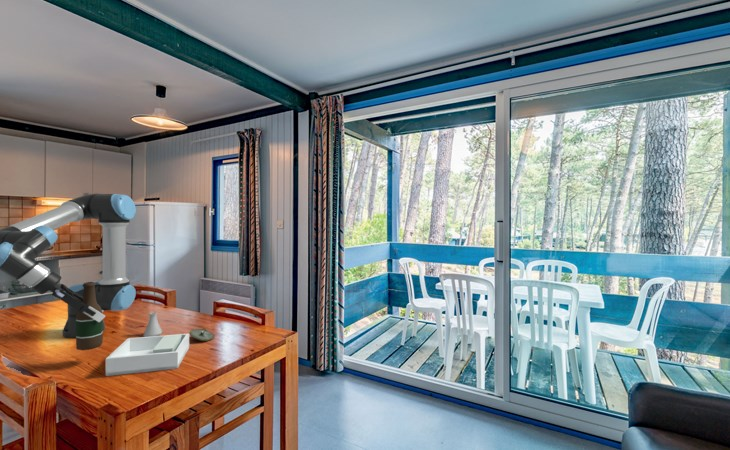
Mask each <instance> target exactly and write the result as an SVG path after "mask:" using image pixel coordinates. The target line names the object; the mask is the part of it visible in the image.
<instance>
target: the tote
mask: <svg viewBox="0 0 730 450" xmlns="http://www.w3.org/2000/svg"><path fill="white" fill-rule="evenodd" d="M173 335H174V334H167V335H157V336H151V337H146V336H140V337H128V338H127V339H125V340H124V341H123V342H122V343H121V344H120V345H118V346H117V348H116V349H115V350H113V351H112V352H111V353H110V354H109V355H108V356H107V357H106V358H105V377H110V376H120V375H121V376H122V375H129V374H139V373H141V374H142V373H149V372H156V371H157V372H158V371H168V370H177V369H178V368H179V367H180V366H181V364H182V362H183V360H184V358H185V356H186V354H187V352H188V351H189V349H190V333H177V334H176V333H175V335H182V337H181V343H180V345H179V346H178V348H177V350H176V351H174V352H163V353H153V349H154V348H155V347H156V345H157V344H158V343H159V342H160V340H161V339H162V338H163V337H164V336H173Z"/></svg>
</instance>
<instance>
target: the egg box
mask: <svg viewBox="0 0 730 450" xmlns="http://www.w3.org/2000/svg"><path fill="white" fill-rule="evenodd" d="M172 335H173V336H164V335H163V336H164V337H163V338H162V339H161V340H160V342H159V343H158V344H157V345H156V347H155V348H154V349H153V353H163V352H174V351H176V350H177V348H178V346H179V345H180V343H181V337H182V335H176V334H172Z"/></svg>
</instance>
